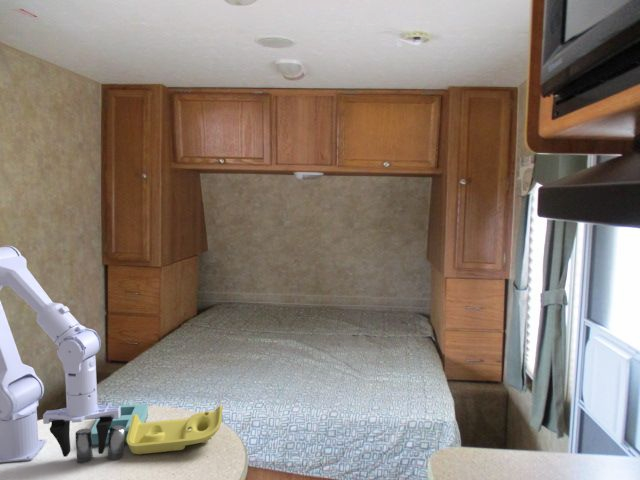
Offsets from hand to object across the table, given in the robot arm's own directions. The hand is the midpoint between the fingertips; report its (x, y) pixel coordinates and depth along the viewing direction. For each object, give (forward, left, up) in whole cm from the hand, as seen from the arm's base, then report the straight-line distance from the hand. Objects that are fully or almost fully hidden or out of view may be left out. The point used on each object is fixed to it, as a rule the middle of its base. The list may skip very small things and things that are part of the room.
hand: (84, 452), depth 104 cm
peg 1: (0, 0, -1) cm, 1 cm away
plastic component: (+18, +3, -1) cm, 19 cm away
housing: (+4, +12, -1) cm, 13 cm away
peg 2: (+6, 0, -1) cm, 6 cm away
